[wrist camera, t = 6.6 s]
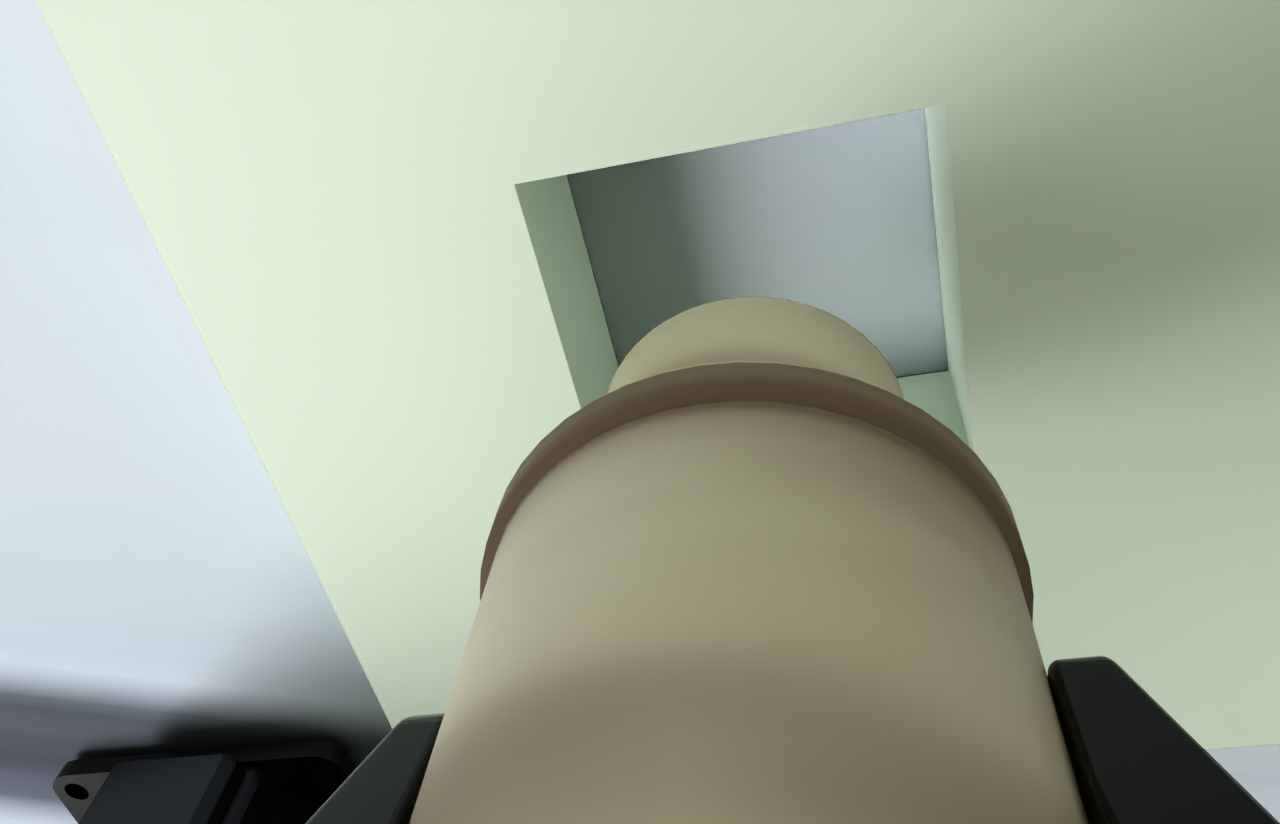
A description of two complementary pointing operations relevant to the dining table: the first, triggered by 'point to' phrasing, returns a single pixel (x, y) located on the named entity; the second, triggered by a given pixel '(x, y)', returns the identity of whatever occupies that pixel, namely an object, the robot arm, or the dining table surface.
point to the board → (700, 119)
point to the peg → (752, 605)
